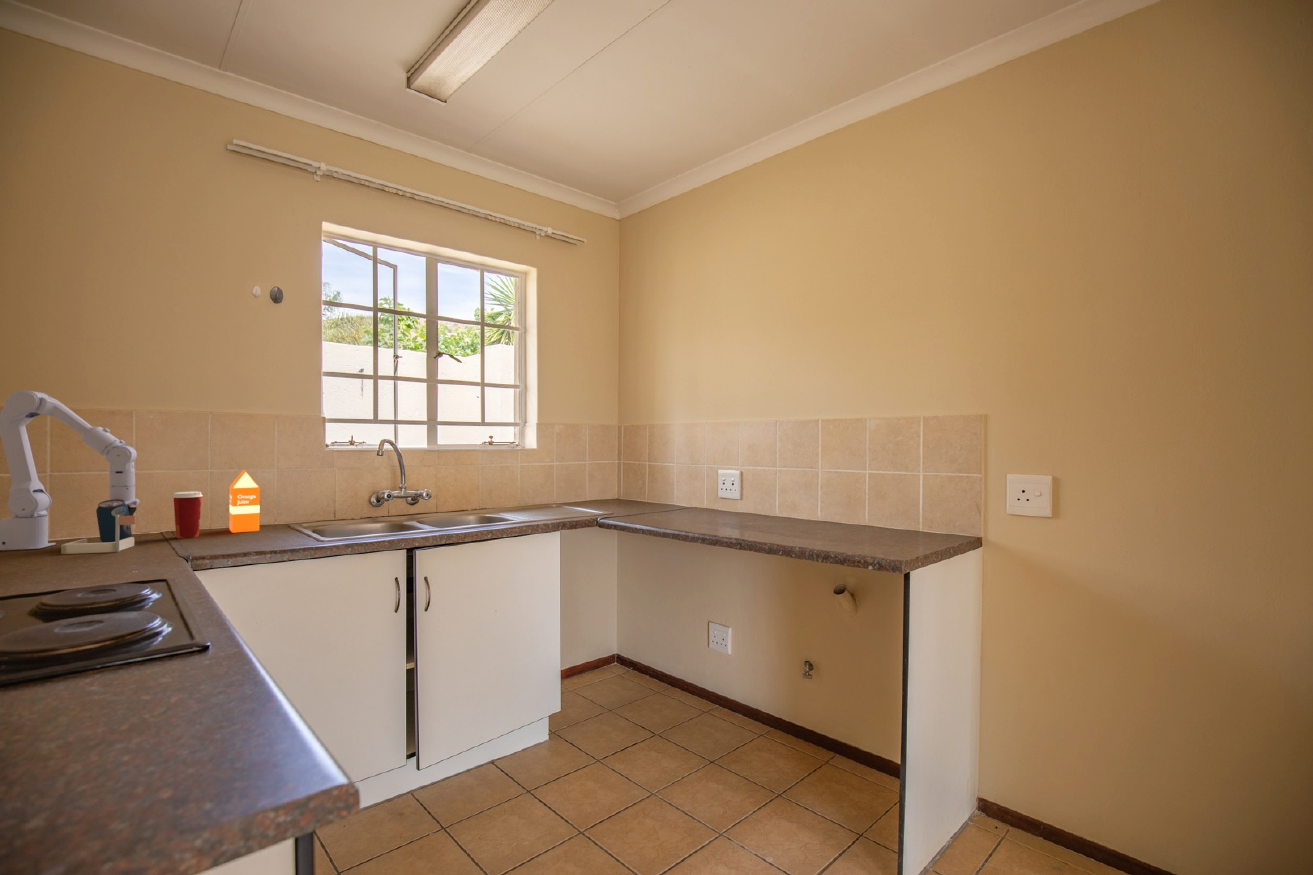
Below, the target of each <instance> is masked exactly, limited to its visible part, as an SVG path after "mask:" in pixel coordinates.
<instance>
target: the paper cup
mask: <svg viewBox="0 0 1313 875" xmlns="http://www.w3.org/2000/svg"><path fill="white" fill-rule="evenodd" d="M203 496H204V495H202V491H179V492H174V493H173V496H172V498H173V510H174V513H173V514H174V524H175V537H176V539H183V540H184V539H192V538H198V537H199V535H200V525H201V510H202V497H203Z"/></svg>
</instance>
